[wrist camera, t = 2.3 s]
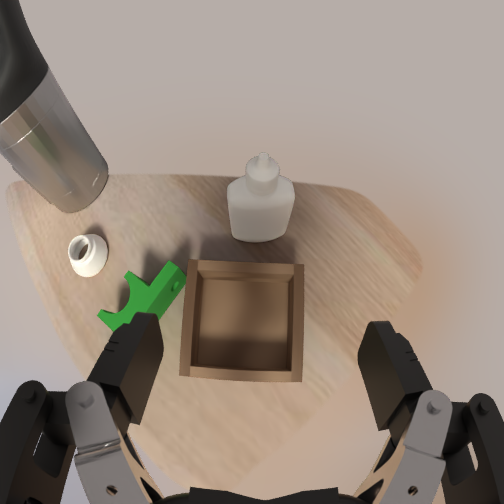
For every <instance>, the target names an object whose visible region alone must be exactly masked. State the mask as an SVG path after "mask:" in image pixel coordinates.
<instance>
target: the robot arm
mask: <svg viewBox="0 0 504 504" xmlns="http://www.w3.org/2000/svg"><path fill="white" fill-rule="evenodd" d="M0 153H1V154H2V155H3V156H4V158H5V159H7V161H8V162H9V163H11V165H12V167H13V169H14V170H15V171H16V172H17V173H18V174H19V175H20V176H21V177H22V178H23V179H24V180H25V181H26V182H27V183H28V184H29V185H30V186H31V187H32V188H33V189H35V190H36V191H37V192H38V193H39V194H40V195H41V196H42V197H43V198H44V199H46V200H47V201H48V202H49V203H50V204H53V205H55V206H56V207H57V208H58V209H59V210H61V211H62V212H66V213H73V212H77V211H79V210H81V209H83V208H85V207H86V206H88V205H89V204H90V203H92V202H93V201H94V200H95V199H96V197H97V196H98V195H99V194H100V192H101V191H102V189H103V187H104V185H105V183H106V181H107V177H108V166H107V163H106V161H105V159H104V158H103V156H102V155H101V153H100V152H99V150H98V149H97V147H96V146H95V144H94V142H93V141H92V139H91V138H90V136H89V135H88V133H87V131H86V130H85V128H84V127H83V125H82V123H81V122H80V120H79V118H78V117H77V115H76V114H75V112H74V110H73V108H72V107H71V105H70V103H69V102H68V100H67V98H66V97H65V95H64V93H63V91H62V90H61V88H60V86H59V84H58V83H57V81H56V79H55V77H54V75H53V74H52V72H51V70H50V68H49V67H48V64H47V63H46V61H45V59H44V57H43V56H42V54H41V52H40V50H39V48H38V47H37V45H36V43H35V41H34V39H33V37H32V35H31V32H30V30H29V28H28V26H27V23H26V20H25V18H24V15H23V12H22V9H21V6H20V3H19V0H0ZM163 351H164V345H163V339H162V335H161V330H160V326H159V321H158V317H157V315H156V314H155V313H146V312H136V313H135V314H134V316H133V318H132V320H131V322H130V323H129V324H127V323H123V324H122V325H121V326H120V327H118V328H117V329H116V330H115V331H114V332H113V334H112V336H111V337H110V339H109V342H108V343H107V344H106V346H105V348H104V351H102V353H101V355H100V357H99V359H98V360H97V362H96V364H95V366H94V368H93V370H92V371H91V373H90V375H89V377H88V379H87V381H83V382H79V383H76V384H75V385H73V386H72V387H71V388H70V389H69V390H68V391H67V392H57V391H47V390H46V388H45V387H44V386H43V384H42V383H40V382H38V381H34V380H31V381H27V382H25V383H23V384H22V385H21V386H20V387H19V388H18V389H17V391H16V393H15V395H14V397H13V399H12V401H11V402H10V404H9V406H8V408H7V410H6V412H5V414H4V416H3V419H2V420H1V422H0V504H60V502H61V497H62V493H63V490H64V485H65V482H66V479H67V475H68V472H69V468H70V465H71V461H72V458H73V455H74V452H75V449H76V446H77V450H78V454H76V455H75V456H74V461H75V465H76V468H77V471H78V474H79V477H80V480H81V482H82V485H83V488H84V491H85V493H86V496H87V498H88V500H89V503H90V504H432V502H433V499H434V497H435V494H436V492H437V489H438V486H439V484H440V481H441V483H442V487H443V492H444V497H445V502H446V504H504V422H503V419H502V417H501V415H500V413H499V410H498V408H497V406H496V404H495V402H494V400H493V399H492V398H491V397H490V396H488V395H486V394H483V393H479V394H475V395H474V396H473V397H472V398H471V399H470V401H469V402H468V403H465V402H464V403H463V402H451V401H450V399H449V398H448V397H447V396H446V395H445V394H444V393H442V392H440V391H437V390H433V388H432V386H431V384H430V382H429V380H428V378H427V376H426V374H425V373H424V370H423V368H422V366H421V364H420V362H419V361H418V358H417V356H416V355H415V353H414V351H413V349H412V347H411V345H410V343H409V341H408V340H407V339H406V338H404V337H403V336H402V335H401V334H400V333H395V331H394V329H393V327H392V325H391V323H390V322H389V321H372V322H369V324H368V326H367V328H366V331H365V334H364V337H363V340H362V342H361V345H360V348H359V351H358V365H359V368H360V371H361V374H362V377H363V380H364V383H365V387H366V390H367V393H368V396H369V400H370V403H371V406H372V409H373V413H374V416H375V420H376V423H377V427H378V431H381V430H386V429H389V431H390V435H389V436H388V438H387V440H386V442H385V445H384V447H383V449H382V450H381V452H380V454H379V456H378V459H377V460H376V462H375V464H374V466H373V468H372V470H371V471H370V473H369V475H368V476H367V478H366V479H365V480H364V482H363V483H362V484H361V485H360V486H359V488H358V489H357V490H356V492H355V493H354V495H353V496H350V495H345V494H338V487H336V488H328V489H320V490H310V491H302V492H298V493H295V494H291V495H287V496H283V497H279V498H275V499H271V500H260V499H255V498H251V497H247V496H243V495H239V494H235V493H232V492H228V491H221V490H211V489H202V488H195V487H190V492H189V493H182V494H176V495H172V496H168V497H166V498H164V496H163V495H162V493H161V492H160V490H159V488H158V487H157V485H156V484H155V482H154V481H153V479H152V478H151V476H150V475H149V473H148V472H147V470H146V468H145V466H144V465H143V462H142V460H141V458H140V456H139V454H138V452H137V450H136V449H135V446H134V444H133V442H132V440H131V438H130V435H129V433H128V431H127V430H128V427H129V424H130V423H134V424H138V425H140V423H141V420H142V416H143V413H144V410H145V407H146V404H147V401H148V398H149V395H150V392H151V389H152V386H153V383H154V380H155V377H156V374H157V372H158V369H159V366H160V363H161V360H162V357H163ZM41 433H42V435H41ZM40 435H41V438H40ZM39 438H40V440H39ZM38 440H39V443H38ZM470 442H472V445H473V448H474V451H475V454H476V457H477V460H478V468H477V470H476V471H475V468H474V465H473V462H472V458H471V455H470V452H469V448H468V446H467V445H468V444H469V443H470ZM37 443H38V445H37ZM36 445H37V448H36ZM35 448H36V451H35ZM34 451H35V453H34ZM33 454H34V456H33Z"/></svg>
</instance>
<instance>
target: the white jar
mask: <svg viewBox="0 0 504 504" xmlns="http://www.w3.org/2000/svg"><path fill="white" fill-rule="evenodd" d="M87 243H88V250H87V251H86V253H85V255H84V257H83V258H82V259H80V260H79V254H80V251H81V249H82V248H83V247H84V246H85V245H86V244H87ZM107 254H108V249H107V245H106V242H105V241H104V240H103V239H102V238H101V237H100V236H98V235H96V234H88V235H79V236H77V237H75V238H74V239H73V240H72V241H71V243H70V245H69V248H68V255H69V258H70V261H71V264H72V267H73V269H74V270H75V272H76V273H77V274H79V275H81V276H83V277H92V276H94V275H96V274H97V273H99V271H100V270H101V269H102V268H103V267H104V265H105V262H106V260H107Z"/></svg>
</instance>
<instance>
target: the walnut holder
mask: <svg viewBox="0 0 504 504" xmlns="http://www.w3.org/2000/svg"><path fill="white" fill-rule="evenodd" d="M303 340H304V264H279V263H256V262H234V261H213V260H193V259H188V268H187V277H186V287H185V298H184V309H183V321H182V335H181V350H180V369H179V375H180V376H188V377H197V378H207V379H219V380H233V381H253V382H302V369H303Z"/></svg>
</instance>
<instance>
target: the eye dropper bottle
mask: <svg viewBox="0 0 504 504" xmlns="http://www.w3.org/2000/svg"><path fill="white" fill-rule="evenodd" d="M294 200H295V193H294V188H293V184H292V182H291V180H289V179H288V178H286V177H283V176H281V175H279V165H278V163H277V162H276V161H275V160H274V159H272V158H271V157H269V155H268V154H267V153H265V152H262V153H260V154H259V155H258V156H257V157H254V158H252V159H251V160H250V161H249V162H248V163H247V166H246V175H245V176H242V177H240V178H238V179H236V180H234V181H233V182H231V183H230V184H229V185H228V187H227V201H228V210H229V218H230V225H231V232H232V235H233V237H234V238H236V239H238V240H241V241H245V242H266V241H270V240H273V239H276V238H278V237H280V236H282V235H283V234H284V233H285V232H286V229H287V226H288V222H289V219H290V215H291V212H292V209H293V205H294Z"/></svg>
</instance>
